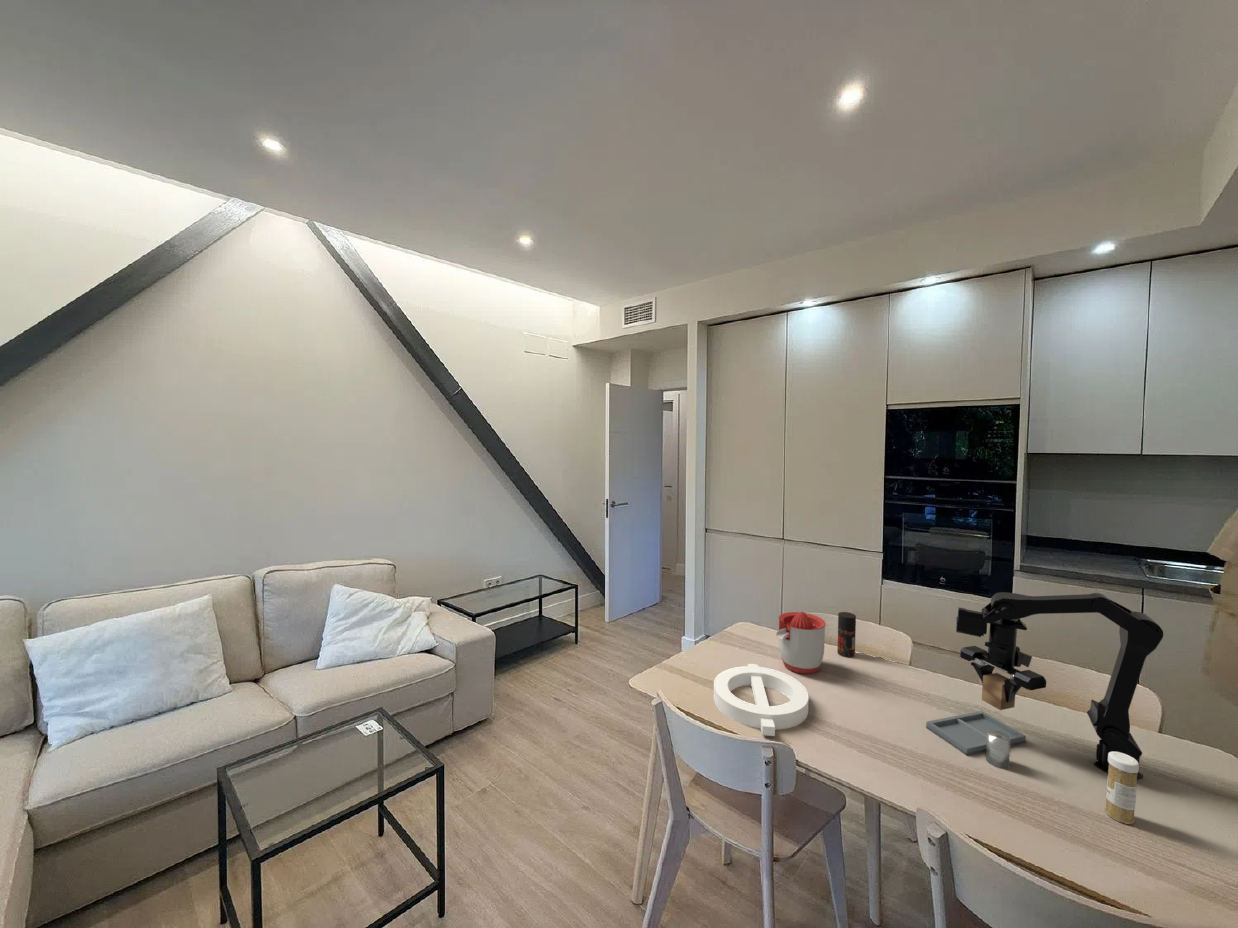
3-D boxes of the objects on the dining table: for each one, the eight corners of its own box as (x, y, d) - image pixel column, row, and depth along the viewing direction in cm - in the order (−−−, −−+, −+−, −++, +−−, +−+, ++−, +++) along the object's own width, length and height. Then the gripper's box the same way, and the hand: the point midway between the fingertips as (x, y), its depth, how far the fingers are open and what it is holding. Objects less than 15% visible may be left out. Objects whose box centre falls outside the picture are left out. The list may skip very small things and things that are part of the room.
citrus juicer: (764, 660, 176) (765, 607, 174) (804, 653, 181) (805, 601, 179) (792, 681, 161) (793, 623, 159) (835, 673, 166) (836, 616, 165)
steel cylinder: (1013, 766, 119) (1015, 739, 119) (999, 770, 118) (1000, 742, 118) (995, 754, 124) (996, 728, 123) (981, 757, 123) (982, 731, 122)
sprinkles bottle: (1104, 805, 107) (1107, 747, 106) (1134, 816, 104) (1138, 756, 103) (1105, 817, 104) (1108, 757, 103) (1136, 829, 100) (1140, 767, 100)
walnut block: (1014, 707, 128) (1016, 681, 128) (1000, 710, 127) (1002, 684, 126) (995, 697, 133) (996, 672, 133) (981, 699, 132) (983, 675, 131)
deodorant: (839, 648, 184) (840, 610, 183) (856, 653, 181) (857, 614, 180) (835, 654, 180) (836, 615, 179) (852, 659, 176) (853, 619, 175)
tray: (1025, 742, 129) (1025, 735, 128) (966, 755, 124) (966, 748, 124) (981, 716, 140) (981, 710, 140) (926, 727, 135) (926, 721, 135)
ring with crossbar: (769, 743, 130) (769, 726, 129) (695, 698, 152) (695, 683, 152) (827, 708, 146) (827, 692, 146) (752, 671, 169) (752, 658, 168)
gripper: (1064, 653, 122) (1059, 711, 123) (989, 624, 140) (985, 675, 141) (1032, 658, 119) (1027, 718, 120) (960, 628, 137) (956, 680, 138)
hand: (998, 696), depth 130 cm, fingers closed on walnut block, 5 cm apart
